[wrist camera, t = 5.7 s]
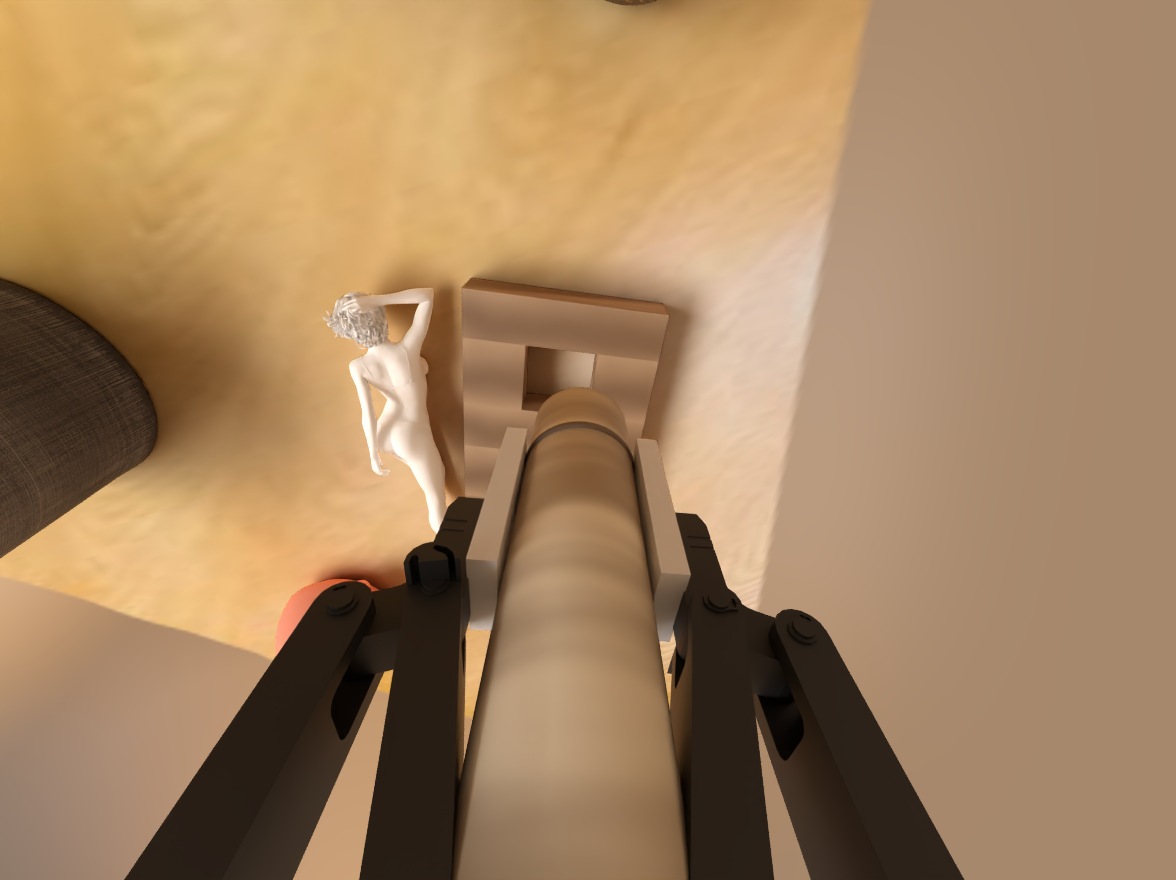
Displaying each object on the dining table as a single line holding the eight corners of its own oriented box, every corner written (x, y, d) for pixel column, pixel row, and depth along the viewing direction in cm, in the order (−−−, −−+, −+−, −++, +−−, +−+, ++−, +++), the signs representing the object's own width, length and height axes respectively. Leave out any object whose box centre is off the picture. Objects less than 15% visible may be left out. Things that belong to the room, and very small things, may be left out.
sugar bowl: (288, 615, 52) (229, 706, 43) (316, 540, 45) (253, 629, 37) (391, 647, 55) (355, 737, 47) (430, 581, 49) (397, 671, 40)
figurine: (472, 519, 47) (389, 274, 34) (508, 539, 44) (432, 278, 31) (410, 566, 42) (286, 303, 29) (445, 592, 39) (324, 310, 26)
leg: (534, 381, 18) (410, 879, 5) (634, 390, 18) (743, 890, 6) (531, 464, 20) (435, 962, 8) (620, 471, 21) (676, 967, 8)
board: (471, 277, 32) (461, 287, 29) (662, 303, 33) (669, 315, 30) (472, 494, 42) (465, 515, 40) (617, 508, 43) (619, 530, 41)
